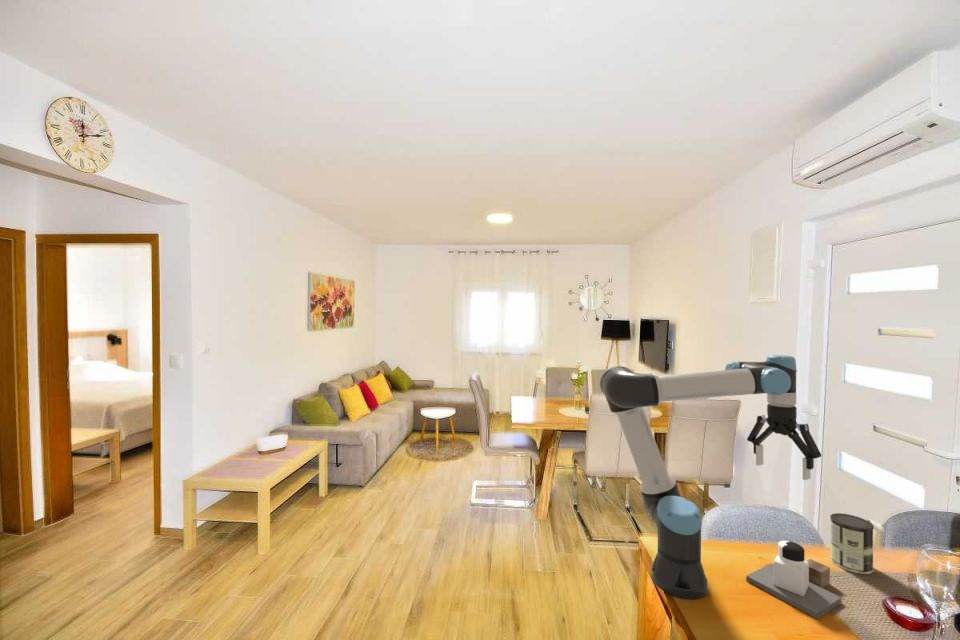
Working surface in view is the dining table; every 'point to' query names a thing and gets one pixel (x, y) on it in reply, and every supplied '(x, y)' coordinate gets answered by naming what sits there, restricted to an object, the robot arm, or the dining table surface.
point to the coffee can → (852, 543)
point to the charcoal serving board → (812, 603)
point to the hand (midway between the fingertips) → (782, 471)
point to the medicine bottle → (791, 568)
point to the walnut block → (818, 574)
